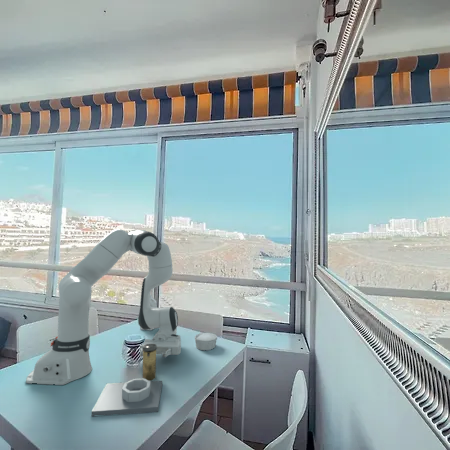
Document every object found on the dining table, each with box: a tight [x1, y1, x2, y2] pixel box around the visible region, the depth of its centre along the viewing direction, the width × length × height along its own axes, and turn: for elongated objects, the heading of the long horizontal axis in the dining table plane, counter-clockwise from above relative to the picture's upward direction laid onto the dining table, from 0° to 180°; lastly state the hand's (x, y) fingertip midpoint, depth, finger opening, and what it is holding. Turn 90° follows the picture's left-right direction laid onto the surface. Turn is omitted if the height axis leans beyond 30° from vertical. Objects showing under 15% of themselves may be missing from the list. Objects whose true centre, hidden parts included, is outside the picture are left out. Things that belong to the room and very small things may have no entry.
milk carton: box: [139, 294, 158, 331], centre depth 165 cm, size 7×7×19 cm
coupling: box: [142, 344, 157, 381], centre depth 110 cm, size 8×5×12 cm
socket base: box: [91, 378, 163, 417], centre depth 96 cm, size 20×16×4 cm
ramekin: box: [194, 332, 218, 351], centre depth 140 cm, size 11×11×5 cm
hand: (152, 355), depth 115 cm, fingers open, 8 cm apart
